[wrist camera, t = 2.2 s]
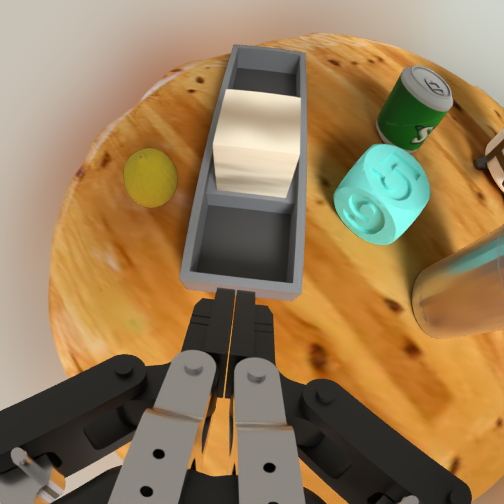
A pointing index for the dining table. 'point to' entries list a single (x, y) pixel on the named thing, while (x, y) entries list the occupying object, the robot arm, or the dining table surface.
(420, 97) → the soda can
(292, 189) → the tray
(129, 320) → the dining table surface
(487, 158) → the coffee press
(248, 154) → the ash block
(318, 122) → the dining table surface
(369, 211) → the decorative dice
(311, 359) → the dining table surface
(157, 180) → the lemon
